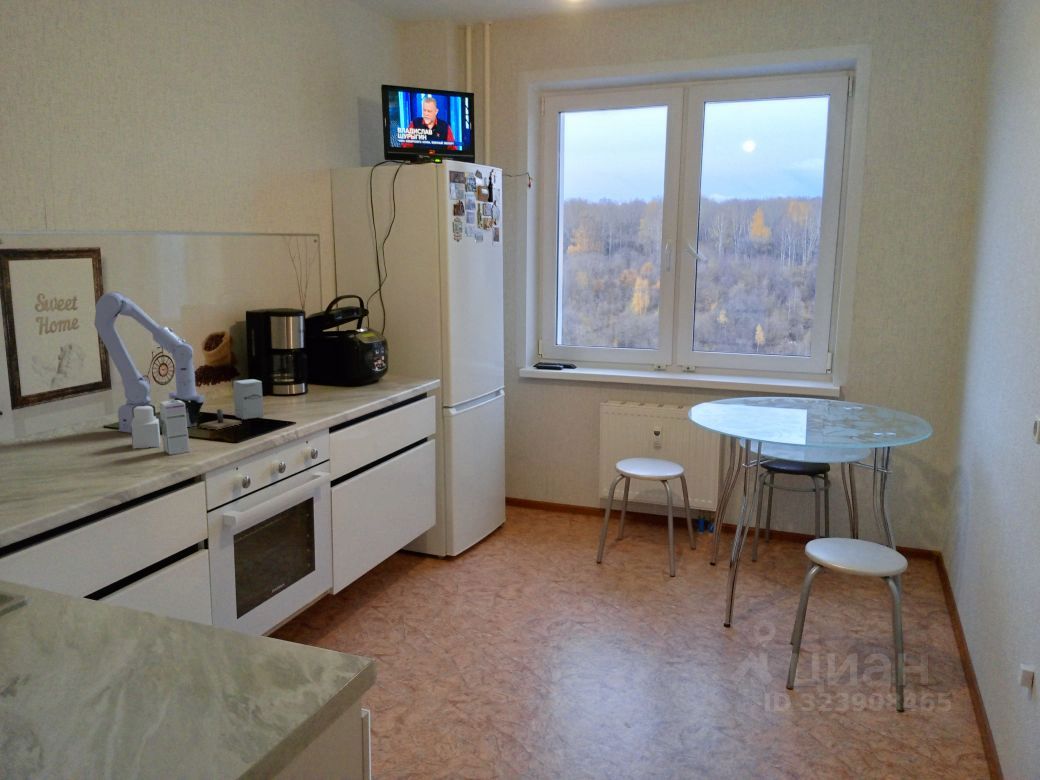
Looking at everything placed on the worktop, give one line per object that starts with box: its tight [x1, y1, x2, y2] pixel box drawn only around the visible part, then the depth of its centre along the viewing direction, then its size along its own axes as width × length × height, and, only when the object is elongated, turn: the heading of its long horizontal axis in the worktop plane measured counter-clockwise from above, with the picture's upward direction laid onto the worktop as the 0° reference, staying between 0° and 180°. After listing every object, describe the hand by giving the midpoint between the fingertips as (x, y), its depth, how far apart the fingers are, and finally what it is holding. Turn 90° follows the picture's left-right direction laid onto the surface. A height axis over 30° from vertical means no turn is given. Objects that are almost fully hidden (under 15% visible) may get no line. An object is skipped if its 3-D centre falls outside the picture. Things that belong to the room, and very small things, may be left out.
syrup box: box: [158, 399, 190, 456], centre depth 220 cm, size 6×6×14 cm
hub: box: [186, 409, 197, 428], centre depth 252 cm, size 4×4×5 cm
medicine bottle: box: [130, 404, 161, 450], centre depth 227 cm, size 7×7×12 cm
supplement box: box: [232, 378, 264, 420], centre depth 266 cm, size 7×7×13 cm
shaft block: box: [199, 408, 242, 431], centre depth 253 cm, size 10×8×6 cm
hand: (188, 422), depth 253 cm, fingers open, 4 cm apart
